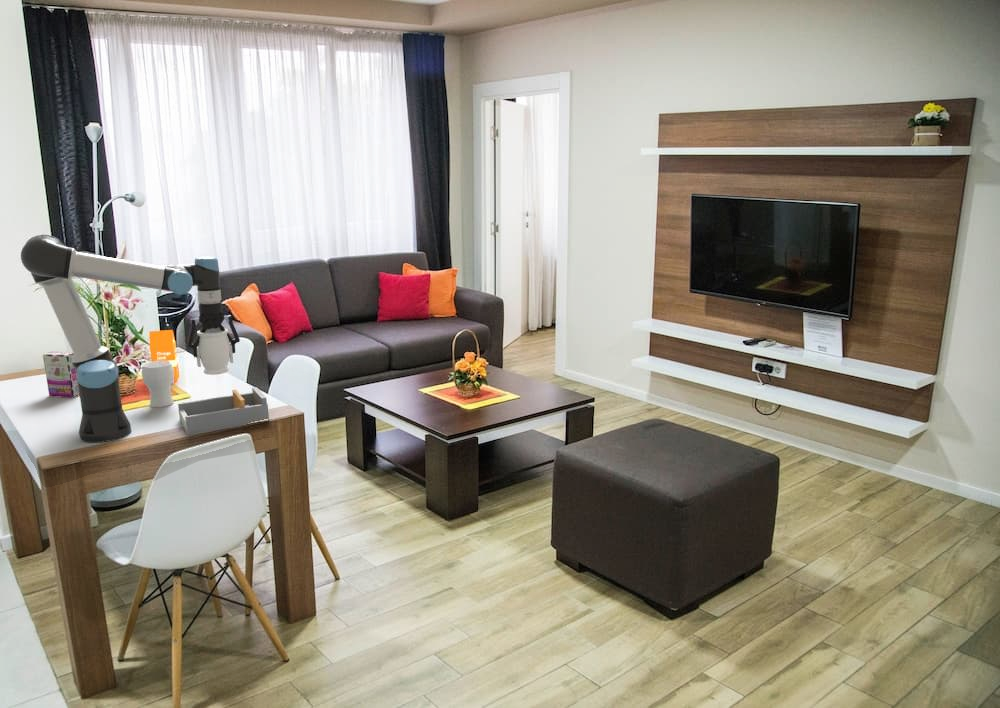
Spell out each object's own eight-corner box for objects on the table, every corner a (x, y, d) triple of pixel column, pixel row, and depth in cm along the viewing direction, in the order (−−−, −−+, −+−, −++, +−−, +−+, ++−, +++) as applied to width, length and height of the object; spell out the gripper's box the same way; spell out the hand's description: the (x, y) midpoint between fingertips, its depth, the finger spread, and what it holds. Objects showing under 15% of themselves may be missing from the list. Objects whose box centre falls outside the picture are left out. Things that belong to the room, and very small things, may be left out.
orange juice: (156, 377, 328) (150, 329, 323) (179, 375, 330) (174, 327, 325) (153, 383, 320) (147, 333, 315) (177, 381, 323) (171, 331, 318)
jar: (221, 376, 281) (218, 334, 277) (194, 375, 283) (190, 332, 279) (237, 369, 291) (234, 327, 287) (211, 367, 293) (207, 326, 289)
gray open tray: (187, 435, 261) (185, 411, 259) (179, 420, 276) (177, 397, 274) (269, 421, 273) (267, 398, 271) (257, 407, 288) (255, 386, 286)
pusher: (242, 420, 271) (240, 400, 269) (234, 409, 282) (232, 390, 280) (255, 418, 273) (253, 398, 271) (246, 407, 284) (244, 388, 282)
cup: (139, 406, 291) (134, 366, 287) (163, 398, 300) (158, 359, 297) (160, 410, 287) (155, 369, 283) (184, 401, 296) (179, 362, 292)
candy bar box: (83, 394, 307) (77, 352, 303) (73, 398, 302) (67, 355, 298) (58, 392, 309) (51, 350, 305) (48, 396, 305) (41, 354, 301)
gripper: (176, 306, 272) (182, 370, 277) (246, 300, 283) (250, 362, 288) (173, 303, 278) (179, 365, 284) (241, 297, 289) (246, 358, 294)
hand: (215, 364), depth 286 cm, fingers closed on jar, 10 cm apart
